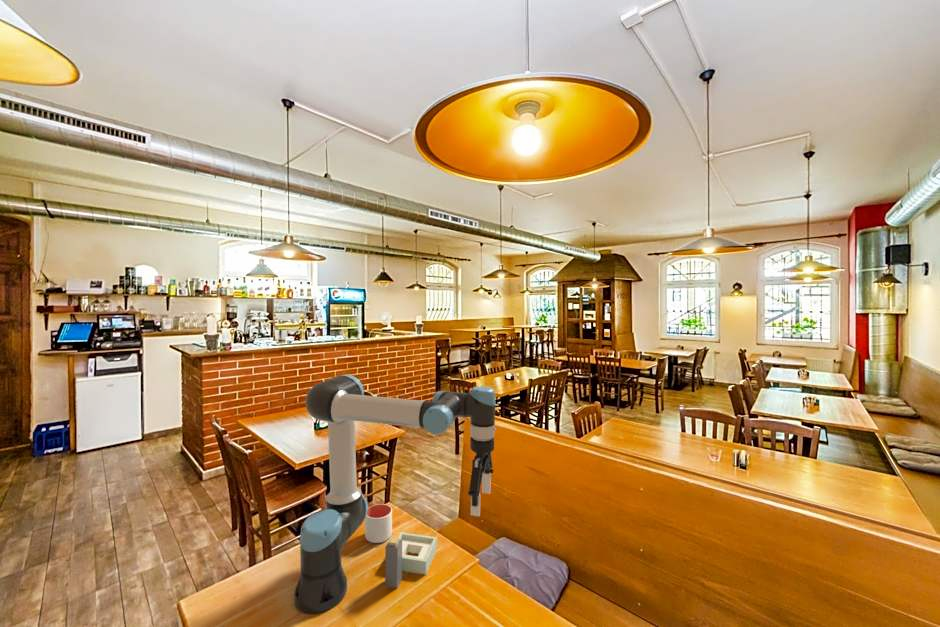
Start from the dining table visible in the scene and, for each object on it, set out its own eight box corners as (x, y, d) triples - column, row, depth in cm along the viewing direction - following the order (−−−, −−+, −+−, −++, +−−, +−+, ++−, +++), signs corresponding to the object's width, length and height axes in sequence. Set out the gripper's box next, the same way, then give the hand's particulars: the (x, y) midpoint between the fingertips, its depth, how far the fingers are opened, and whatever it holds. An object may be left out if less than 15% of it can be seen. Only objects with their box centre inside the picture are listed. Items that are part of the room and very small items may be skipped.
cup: (397, 534, 146) (397, 508, 146) (378, 548, 138) (378, 521, 138) (378, 525, 152) (378, 501, 151) (359, 538, 143) (359, 513, 143)
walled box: (386, 568, 128) (386, 555, 128) (400, 544, 140) (400, 532, 140) (425, 574, 125) (426, 561, 125) (437, 549, 138) (437, 537, 138)
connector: (385, 586, 120) (385, 543, 119) (390, 577, 124) (390, 535, 123) (397, 588, 119) (397, 545, 118) (402, 579, 123) (402, 537, 122)
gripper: (484, 454, 105) (482, 528, 106) (502, 425, 129) (500, 486, 130) (458, 450, 107) (457, 523, 108) (480, 423, 131) (479, 483, 132)
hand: (481, 503), depth 119 cm, fingers open, 13 cm apart
